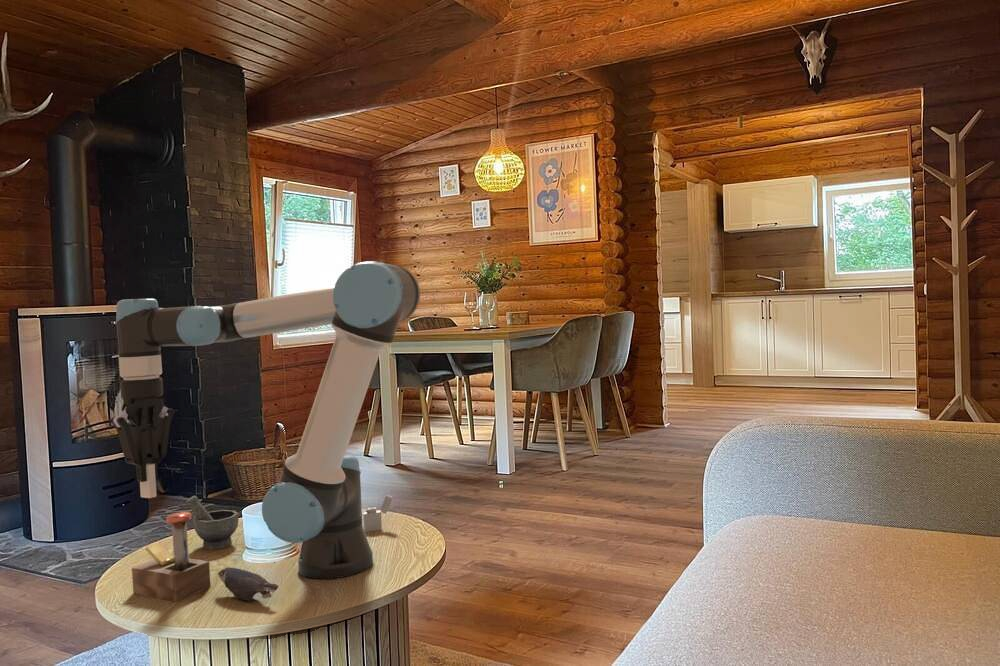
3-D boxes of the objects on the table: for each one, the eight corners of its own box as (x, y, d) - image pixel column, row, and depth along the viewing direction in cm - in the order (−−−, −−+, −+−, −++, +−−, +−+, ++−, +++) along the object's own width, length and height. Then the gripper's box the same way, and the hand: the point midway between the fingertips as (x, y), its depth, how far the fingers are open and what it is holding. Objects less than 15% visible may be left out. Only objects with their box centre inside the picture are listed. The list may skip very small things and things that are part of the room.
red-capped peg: (200, 589, 148) (196, 513, 148) (182, 597, 144) (177, 519, 144) (184, 586, 150) (180, 511, 150) (166, 594, 146) (161, 517, 146)
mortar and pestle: (240, 536, 183) (237, 487, 182) (238, 548, 174) (235, 496, 173) (190, 542, 180) (187, 492, 179) (185, 554, 171) (182, 501, 170)
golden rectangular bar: (174, 562, 150) (176, 558, 150) (161, 567, 148) (162, 564, 147) (158, 545, 152) (160, 541, 152) (144, 549, 149) (146, 546, 149)
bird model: (266, 610, 136) (264, 583, 136) (208, 594, 146) (207, 568, 145) (285, 602, 140) (284, 575, 140) (228, 586, 149) (227, 561, 149)
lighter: (364, 532, 182) (363, 498, 182) (363, 530, 184) (362, 497, 183) (394, 528, 184) (392, 495, 184) (393, 526, 186) (391, 493, 185)
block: (210, 586, 150) (209, 561, 150) (176, 601, 143) (175, 575, 142) (167, 579, 155) (166, 554, 155) (133, 593, 148) (131, 567, 148)
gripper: (156, 374, 157) (163, 487, 158) (98, 381, 145) (106, 503, 146) (182, 374, 154) (188, 490, 155) (124, 381, 142) (132, 506, 143)
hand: (148, 496), depth 150 cm, fingers closed
